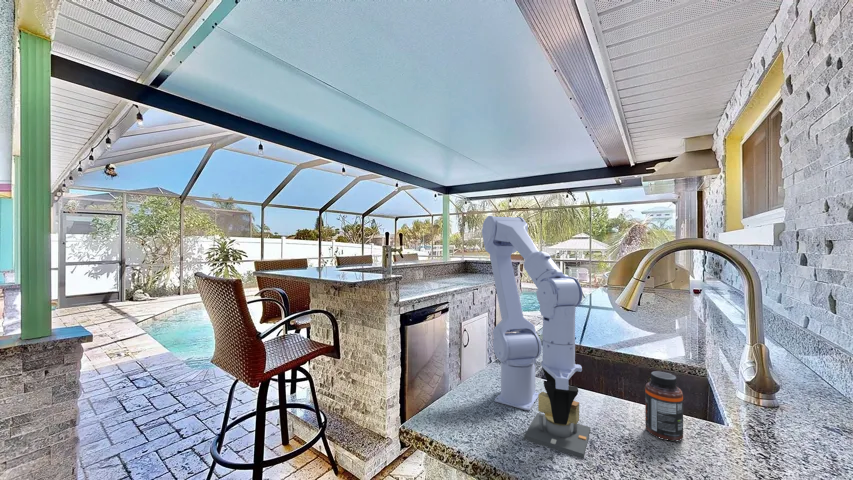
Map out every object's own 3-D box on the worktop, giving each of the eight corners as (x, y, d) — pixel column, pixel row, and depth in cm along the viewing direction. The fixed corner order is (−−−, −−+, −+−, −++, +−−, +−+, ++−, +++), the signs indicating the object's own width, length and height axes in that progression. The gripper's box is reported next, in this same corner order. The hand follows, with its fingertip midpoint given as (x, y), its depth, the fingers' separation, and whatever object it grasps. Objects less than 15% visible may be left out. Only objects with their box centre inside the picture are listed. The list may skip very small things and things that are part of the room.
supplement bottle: (647, 422, 68) (647, 366, 68) (683, 433, 64) (683, 374, 64) (643, 434, 63) (643, 375, 63) (682, 447, 59) (682, 383, 60)
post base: (537, 416, 69) (537, 400, 69) (590, 431, 64) (590, 413, 64) (524, 439, 61) (524, 420, 61) (583, 458, 56) (583, 438, 56)
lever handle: (535, 417, 63) (535, 396, 63) (544, 408, 67) (545, 388, 67) (573, 430, 58) (573, 408, 58) (581, 420, 62) (581, 399, 62)
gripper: (588, 354, 55) (588, 437, 54) (576, 333, 69) (576, 399, 68) (543, 350, 57) (542, 430, 57) (540, 330, 71) (540, 394, 70)
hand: (558, 412), depth 63 cm, fingers open, 7 cm apart
